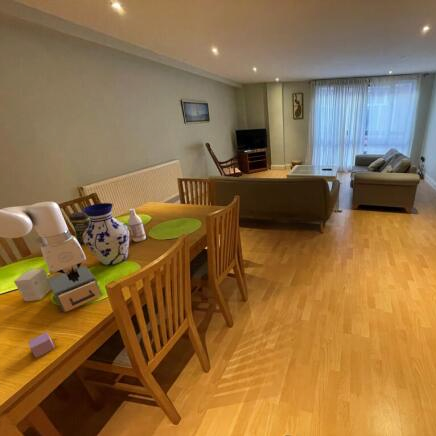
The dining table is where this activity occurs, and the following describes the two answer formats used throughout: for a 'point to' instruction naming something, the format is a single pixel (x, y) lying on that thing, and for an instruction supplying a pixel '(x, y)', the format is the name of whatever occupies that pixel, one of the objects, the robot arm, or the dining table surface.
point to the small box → (33, 284)
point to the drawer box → (69, 282)
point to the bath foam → (136, 227)
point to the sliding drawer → (79, 295)
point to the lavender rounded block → (41, 345)
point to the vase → (106, 235)
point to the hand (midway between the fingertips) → (75, 280)
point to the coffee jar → (79, 224)
